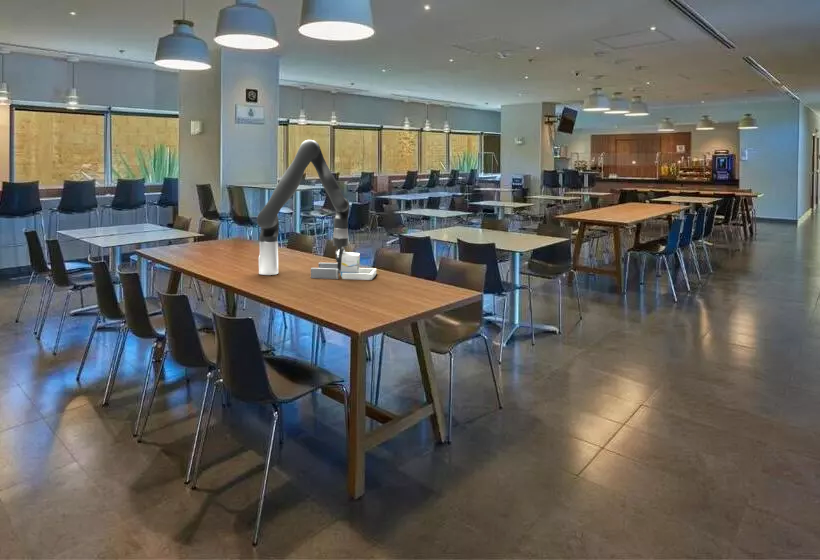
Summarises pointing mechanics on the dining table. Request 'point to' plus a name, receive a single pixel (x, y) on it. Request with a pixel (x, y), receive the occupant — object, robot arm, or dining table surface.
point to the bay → (326, 271)
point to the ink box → (350, 262)
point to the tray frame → (361, 274)
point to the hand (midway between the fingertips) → (339, 269)
